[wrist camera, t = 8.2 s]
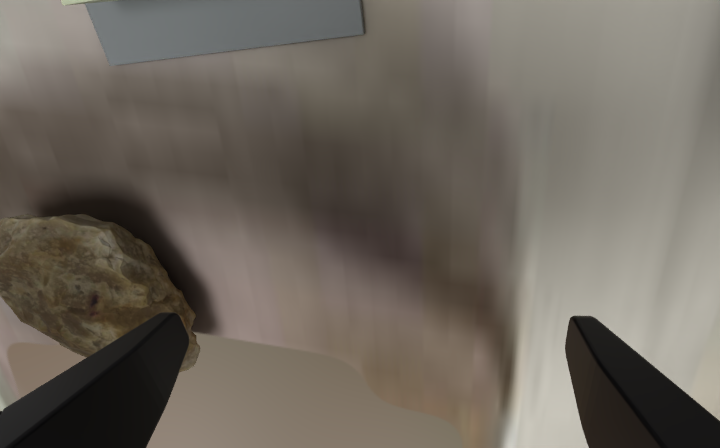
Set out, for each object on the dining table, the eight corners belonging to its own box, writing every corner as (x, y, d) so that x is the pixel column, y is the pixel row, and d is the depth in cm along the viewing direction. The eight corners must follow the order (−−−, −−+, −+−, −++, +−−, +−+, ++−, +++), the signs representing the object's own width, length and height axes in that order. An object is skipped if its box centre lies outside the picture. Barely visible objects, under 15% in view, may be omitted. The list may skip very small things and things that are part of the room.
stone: (-31, 218, 24) (-92, 272, 17) (107, 158, 26) (102, 185, 19) (101, 366, 30) (95, 449, 23) (205, 306, 32) (226, 366, 25)
